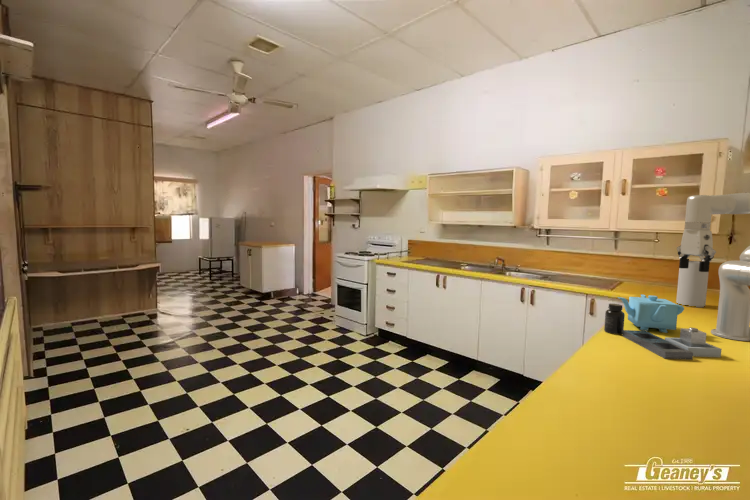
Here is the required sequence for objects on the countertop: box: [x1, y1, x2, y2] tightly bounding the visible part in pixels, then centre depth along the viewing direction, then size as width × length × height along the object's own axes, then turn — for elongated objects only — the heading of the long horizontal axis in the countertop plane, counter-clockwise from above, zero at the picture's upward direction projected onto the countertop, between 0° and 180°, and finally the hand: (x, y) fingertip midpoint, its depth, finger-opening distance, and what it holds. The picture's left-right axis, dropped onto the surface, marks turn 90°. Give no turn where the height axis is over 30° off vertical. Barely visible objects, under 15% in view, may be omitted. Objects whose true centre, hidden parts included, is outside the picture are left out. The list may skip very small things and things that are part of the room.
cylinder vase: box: [675, 260, 709, 308], centre depth 202 cm, size 12×12×25 cm
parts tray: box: [664, 336, 722, 358], centre depth 130 cm, size 11×11×3 cm
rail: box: [621, 329, 694, 361], centre depth 134 cm, size 24×9×2 cm, turn 176°
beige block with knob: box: [679, 327, 707, 347], centre depth 130 cm, size 5×5×8 cm
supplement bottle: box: [603, 303, 626, 335], centre depth 151 cm, size 7×7×12 cm
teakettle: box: [617, 294, 685, 334], centre depth 157 cm, size 19×19×15 cm
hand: (693, 269), depth 141 cm, fingers open, 9 cm apart
